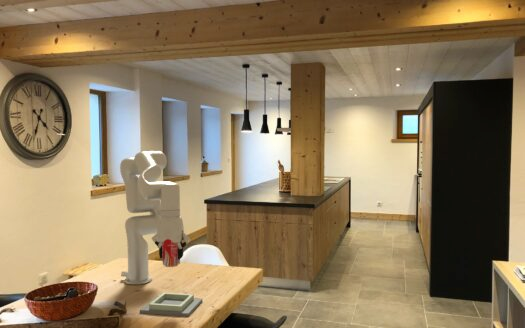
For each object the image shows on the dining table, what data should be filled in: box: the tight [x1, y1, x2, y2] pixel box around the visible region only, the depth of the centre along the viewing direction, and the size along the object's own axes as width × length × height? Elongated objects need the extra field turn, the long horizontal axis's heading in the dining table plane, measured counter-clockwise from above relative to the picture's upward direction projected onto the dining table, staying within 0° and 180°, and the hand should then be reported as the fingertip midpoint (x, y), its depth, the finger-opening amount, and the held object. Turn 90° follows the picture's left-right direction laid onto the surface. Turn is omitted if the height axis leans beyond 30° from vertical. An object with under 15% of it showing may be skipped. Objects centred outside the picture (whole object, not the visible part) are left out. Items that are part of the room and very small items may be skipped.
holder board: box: [139, 292, 203, 317], centre depth 166 cm, size 20×16×3 cm
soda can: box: [161, 237, 181, 268], centre depth 166 cm, size 7×7×12 cm
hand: (171, 257), depth 166 cm, fingers closed on soda can, 7 cm apart
